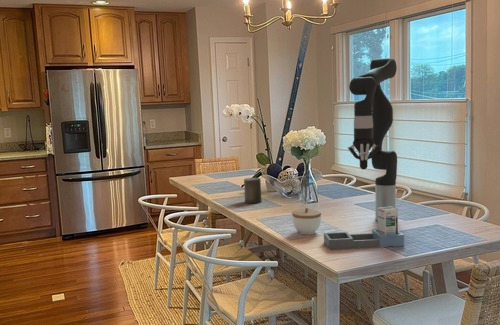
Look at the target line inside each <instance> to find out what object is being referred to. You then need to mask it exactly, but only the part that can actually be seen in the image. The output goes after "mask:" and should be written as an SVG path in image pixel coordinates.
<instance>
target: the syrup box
mask: <svg viewBox="0 0 500 325" xmlns="http://www.w3.org/2000/svg"><path fill="white" fill-rule="evenodd" d="M398 211H399V209H398V208H395V207H392V206H389V207H378V221H377V229H378V233H379V234H381V235H387V233H396V234H398V231H399V230H398V229H399V223H398V222H399V218H398V217H399V216H398V214H399V212H398Z"/></svg>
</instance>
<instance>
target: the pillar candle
mask: <svg viewBox="0 0 500 325" xmlns="http://www.w3.org/2000/svg"><path fill="white" fill-rule="evenodd" d="M243 184H244V186H243V187H244V190H243V191H244V203H245V202H246V204H260V203H262V186H261V184H262V183H261V178H260V177H248V178H244V179H243Z"/></svg>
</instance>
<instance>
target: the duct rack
mask: <svg viewBox="0 0 500 325" xmlns="http://www.w3.org/2000/svg"><path fill="white" fill-rule="evenodd" d="M371 230H372V232H367V233H364V232H362V233H349V232H348V231H341V232H340V231H338V232H323V243H324V245H325V246H326V247H327V249H328V251H331V250H333V251H334V250H335V251H336V250H352V249H354V250H355V249H356V250H357V249H372V248H373V247H375V248H389V247H388V246H394V247H404V246H405V234H404V233H402V232H401V231H400V230H398V234H396V233H387V235H381V234H379V233H378V228H376V229H375V228H373V229H371Z"/></svg>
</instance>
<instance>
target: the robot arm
mask: <svg viewBox="0 0 500 325" xmlns="http://www.w3.org/2000/svg"><path fill="white" fill-rule="evenodd" d="M397 67H398V66H397V62H396V60H395V59H394V58H392V57H385V58H374V59H372V60H371V62H370V65H369V70H368V71H367V72H365V73H364V74H361V75H357V76H355V77H353V78H352V79H351V80H350V83H349V85H348V88H349V91H350V93H351V94H352V95H354V96H365V97H364V99H362V100H359V101H355V103H354V105H353V106H354V107H353V108H354V109H353V110H354V112H353V113H354V114H353V115H354V116H353V141H352V144H351V145H350V146H348V147H347V150H348V151H349V152H350V154H351V155H352V156H353V158H354V159H356V160H359V168H360V169H361V170H367V169H368V167H369V166H368V160H371V165H372V167H373V169H374V170H378V171H379V170H382V171H385V174H383V175H382V176H378V177H376V178H375V179H374V180H375V187H374V188H375V189H374V190H375V191H374V192H375V211H374V212H375V214H374V215H375V217H374V218H375V221H377V222H378V207H389V206H392V207H395V208H396V207H397V206H396V205H397V204H396V203H397V202H396V201H397V200H396V199H397V193H396V192H397V191H396V186H397V185H396V184H397V183H396V182H397V173H398V172H397V170H398V155H397V152H396V151H395V150H390V149H383V141H384V138H385V136H386V135H387V133H388V131H389V130H390V129H391V127H392V125H393V121H394V118H393V117H394V114H393V113H394V112H393V111H394V109H393V105H392V103H391V102H390V100H389V98H388V97H387V96H386V94H385V93H384V91H383V88H382V87H381V83H382V82H384V81H386V80H388V79H392V78H394V77H395V76H396V73H397V70H398V68H397ZM355 150H356V151H357V152H356V151H355ZM369 151H370V152H369ZM357 153H358V154H357Z"/></svg>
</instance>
